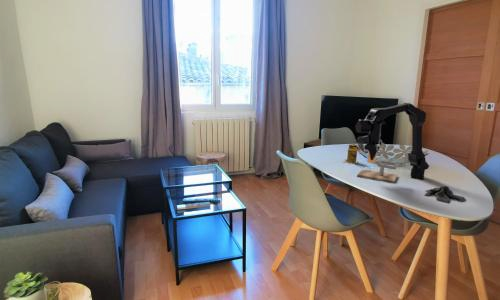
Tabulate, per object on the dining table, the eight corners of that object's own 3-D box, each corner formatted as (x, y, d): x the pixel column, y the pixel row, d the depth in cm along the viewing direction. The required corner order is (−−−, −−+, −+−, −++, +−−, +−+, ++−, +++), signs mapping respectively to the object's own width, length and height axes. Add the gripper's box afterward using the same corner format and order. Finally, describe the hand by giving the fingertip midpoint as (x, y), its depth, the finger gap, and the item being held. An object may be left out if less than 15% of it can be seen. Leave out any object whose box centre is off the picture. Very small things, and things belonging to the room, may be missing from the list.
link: (397, 165, 167) (399, 155, 165) (395, 169, 160) (397, 158, 158) (369, 160, 174) (370, 150, 173) (365, 163, 167) (367, 153, 165)
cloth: (443, 188, 163) (445, 177, 161) (475, 202, 145) (478, 190, 143) (407, 191, 158) (409, 180, 156) (436, 206, 140) (438, 193, 139)
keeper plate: (397, 176, 179) (398, 165, 177) (394, 183, 168) (395, 171, 167) (362, 171, 189) (363, 160, 188) (356, 176, 179) (358, 165, 177)
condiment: (355, 163, 205) (357, 146, 202) (342, 162, 209) (344, 145, 206) (357, 161, 211) (359, 144, 208) (345, 159, 215) (346, 143, 212)
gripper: (363, 128, 177) (360, 154, 181) (355, 133, 162) (353, 161, 166) (383, 129, 172) (380, 156, 175) (377, 135, 156) (374, 164, 160)
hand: (372, 159), depth 169 cm, fingers closed on link
